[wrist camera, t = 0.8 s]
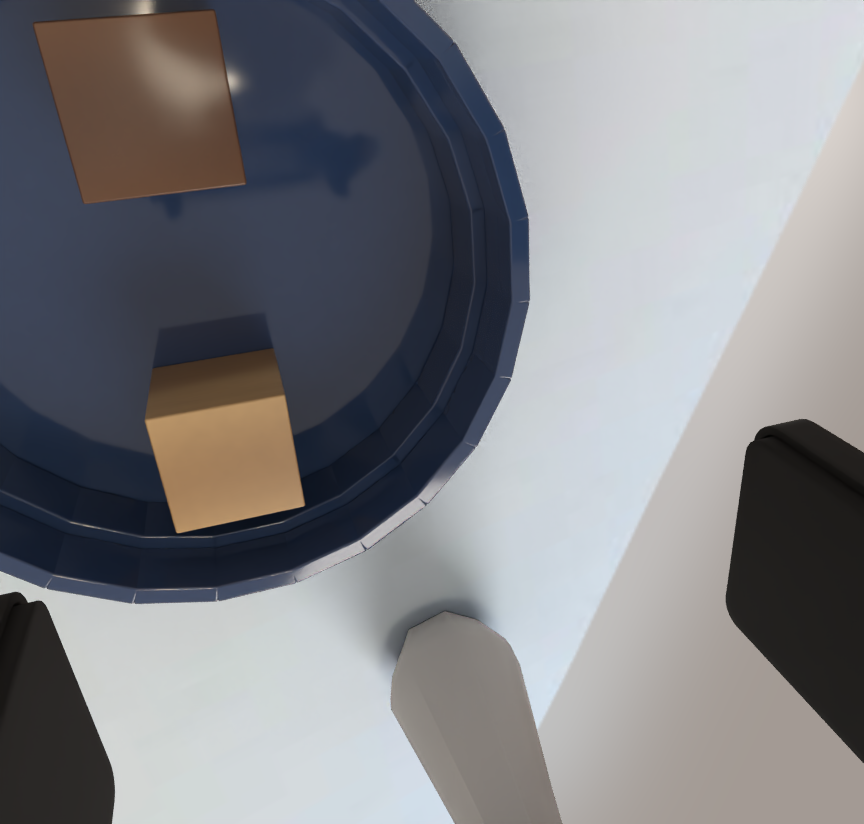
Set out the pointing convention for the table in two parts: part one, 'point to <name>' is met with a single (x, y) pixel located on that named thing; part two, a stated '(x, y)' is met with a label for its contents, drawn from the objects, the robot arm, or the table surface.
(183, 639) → the table surface
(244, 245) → the bowl
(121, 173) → the walnut block
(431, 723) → the salt shaker
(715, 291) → the table surface
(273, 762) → the table surface
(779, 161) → the table surface
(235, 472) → the maple block
